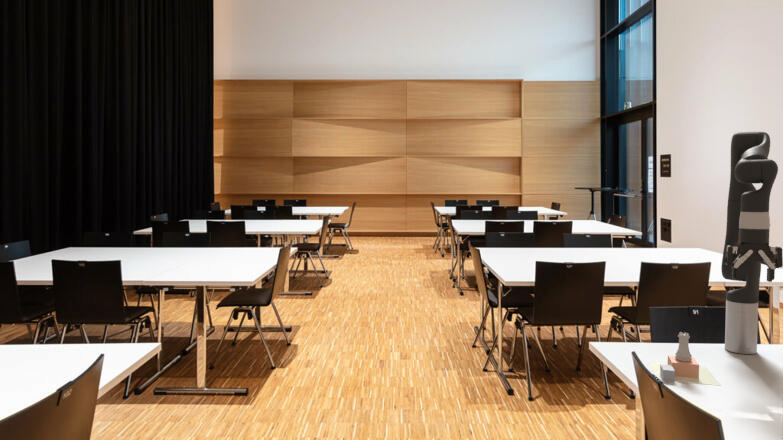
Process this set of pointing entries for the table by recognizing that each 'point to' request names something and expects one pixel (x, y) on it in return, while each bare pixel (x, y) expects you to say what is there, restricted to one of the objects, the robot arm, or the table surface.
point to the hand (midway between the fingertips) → (752, 280)
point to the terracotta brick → (684, 367)
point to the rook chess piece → (683, 348)
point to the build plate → (704, 377)
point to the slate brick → (667, 372)
